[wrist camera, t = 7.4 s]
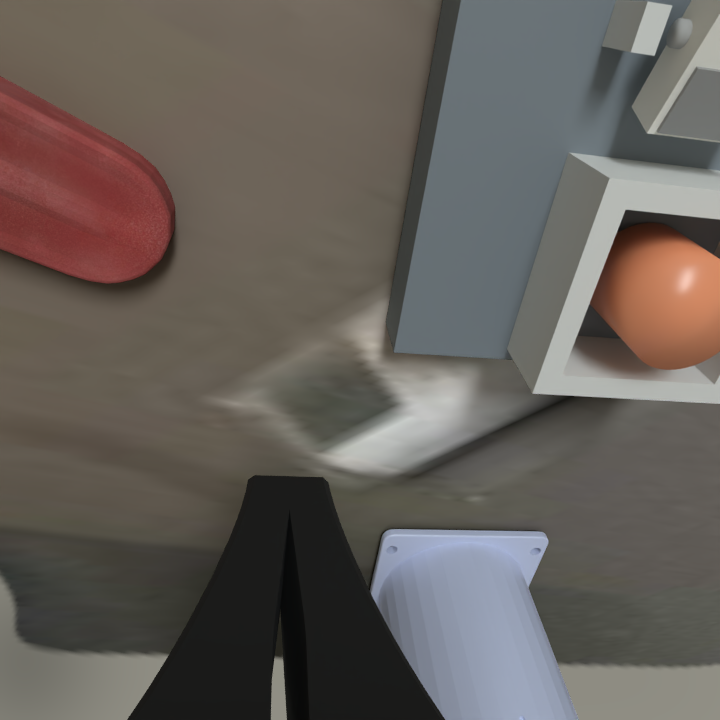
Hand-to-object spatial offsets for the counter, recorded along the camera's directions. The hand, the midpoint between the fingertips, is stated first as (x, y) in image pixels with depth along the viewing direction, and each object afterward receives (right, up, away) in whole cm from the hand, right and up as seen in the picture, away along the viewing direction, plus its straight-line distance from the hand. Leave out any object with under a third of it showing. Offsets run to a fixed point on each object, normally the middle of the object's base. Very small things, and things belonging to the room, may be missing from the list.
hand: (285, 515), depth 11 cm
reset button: (+10, +6, +7) cm, 13 cm away
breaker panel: (+9, +9, +7) cm, 15 cm away
